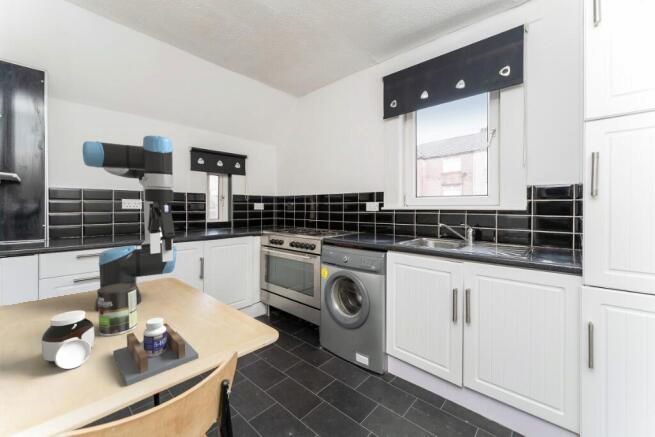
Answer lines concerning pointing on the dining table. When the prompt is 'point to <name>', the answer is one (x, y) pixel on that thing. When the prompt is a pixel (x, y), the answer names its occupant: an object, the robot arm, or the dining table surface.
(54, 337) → the spread jar
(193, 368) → the dining table surface
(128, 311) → the coffee can
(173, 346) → the wooden rail pair
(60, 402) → the dining table surface
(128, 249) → the robot arm
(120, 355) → the plate
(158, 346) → the pill bottle
